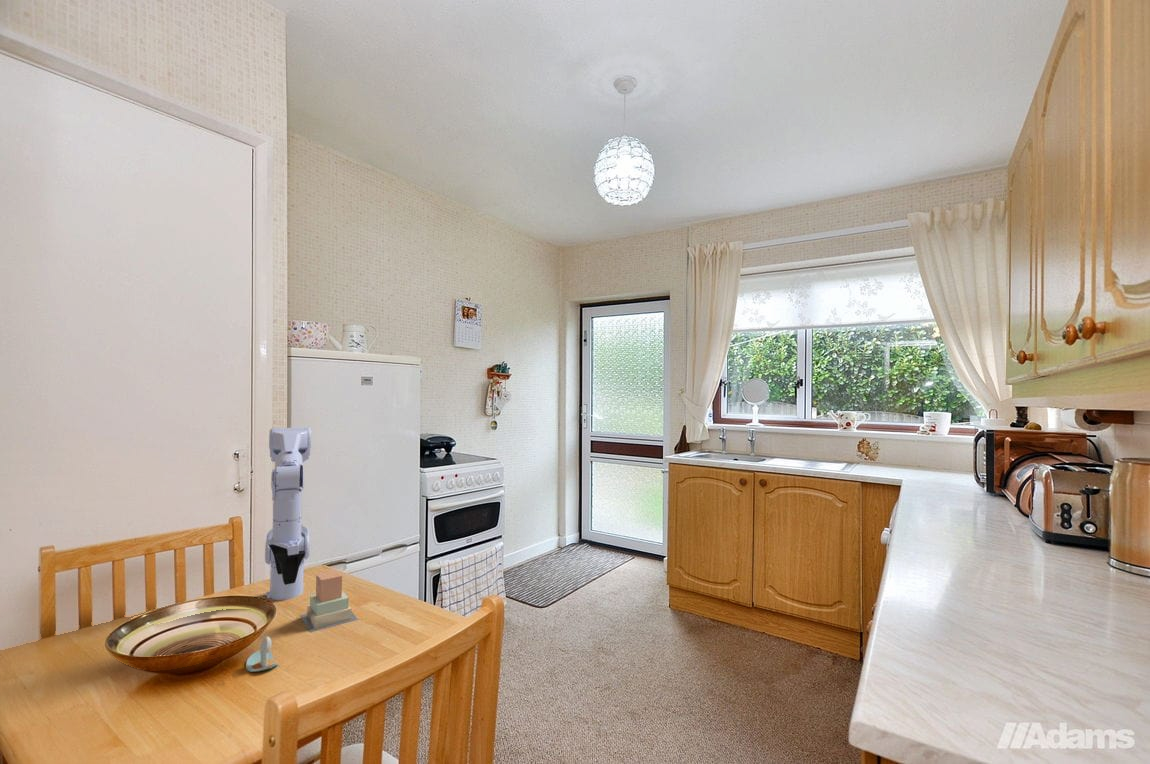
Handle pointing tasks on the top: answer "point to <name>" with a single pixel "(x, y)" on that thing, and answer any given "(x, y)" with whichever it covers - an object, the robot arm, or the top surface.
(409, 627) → the top surface
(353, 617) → the slate board
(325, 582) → the terracotta block
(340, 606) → the sage slab
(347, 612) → the oak slab
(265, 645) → the pacifier
